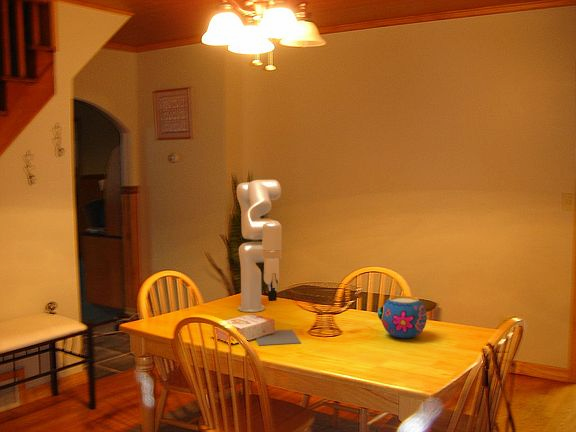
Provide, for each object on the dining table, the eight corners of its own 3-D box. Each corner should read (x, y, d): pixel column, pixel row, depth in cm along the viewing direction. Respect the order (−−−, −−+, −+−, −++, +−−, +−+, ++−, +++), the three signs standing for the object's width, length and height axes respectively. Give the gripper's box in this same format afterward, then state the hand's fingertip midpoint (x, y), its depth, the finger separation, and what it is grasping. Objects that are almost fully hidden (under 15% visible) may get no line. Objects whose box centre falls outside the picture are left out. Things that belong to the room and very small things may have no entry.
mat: (253, 332, 235) (253, 331, 235) (292, 330, 237) (292, 329, 237) (258, 345, 217) (258, 344, 217) (301, 343, 220) (301, 342, 220)
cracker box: (274, 318, 231) (232, 330, 217) (275, 333, 231) (233, 346, 217) (252, 312, 241) (210, 323, 227) (253, 326, 242) (211, 338, 228)
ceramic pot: (392, 328, 240) (392, 292, 239) (433, 335, 230) (434, 297, 229) (372, 338, 226) (372, 300, 225) (415, 346, 216) (416, 306, 215)
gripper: (259, 251, 234) (260, 297, 236) (265, 257, 219) (265, 305, 221) (278, 251, 235) (278, 296, 237) (284, 256, 221) (285, 304, 222)
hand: (272, 300), depth 229 cm, fingers closed
